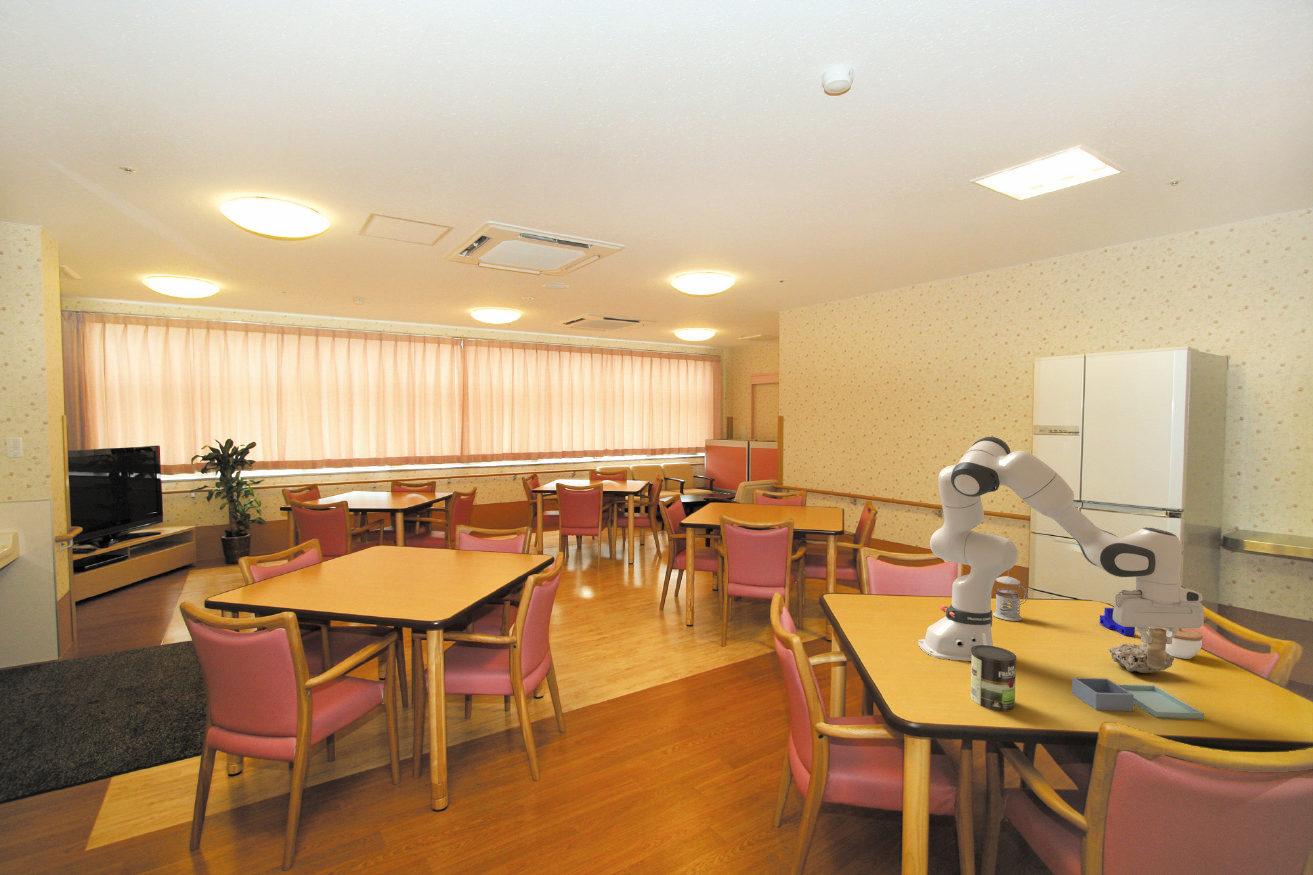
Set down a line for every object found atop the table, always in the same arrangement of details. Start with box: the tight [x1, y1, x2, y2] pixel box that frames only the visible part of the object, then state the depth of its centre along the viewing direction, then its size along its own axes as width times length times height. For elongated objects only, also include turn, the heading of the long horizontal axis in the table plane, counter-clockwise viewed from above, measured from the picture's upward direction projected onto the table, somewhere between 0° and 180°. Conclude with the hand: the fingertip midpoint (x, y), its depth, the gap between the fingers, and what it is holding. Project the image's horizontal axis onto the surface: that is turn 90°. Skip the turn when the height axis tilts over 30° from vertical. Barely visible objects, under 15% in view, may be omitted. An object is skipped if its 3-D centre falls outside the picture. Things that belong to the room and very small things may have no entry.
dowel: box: [1147, 627, 1166, 671], centre depth 149 cm, size 4×4×10 cm
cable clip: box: [1099, 607, 1136, 637], centre depth 206 cm, size 12×4×6 cm, turn 171°
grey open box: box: [1071, 677, 1135, 712], centre depth 151 cm, size 9×9×5 cm
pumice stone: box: [1108, 643, 1175, 674], centre depth 170 cm, size 14×12×8 cm
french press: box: [992, 569, 1029, 622], centre depth 218 cm, size 10×12×25 cm
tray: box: [1116, 683, 1205, 721], centre depth 150 cm, size 11×15×2 cm
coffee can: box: [970, 645, 1017, 712], centre depth 150 cm, size 10×10×14 cm
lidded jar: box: [1157, 627, 1203, 660], centre depth 183 cm, size 11×11×9 cm
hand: (1156, 643), depth 149 cm, fingers closed on dowel, 4 cm apart
